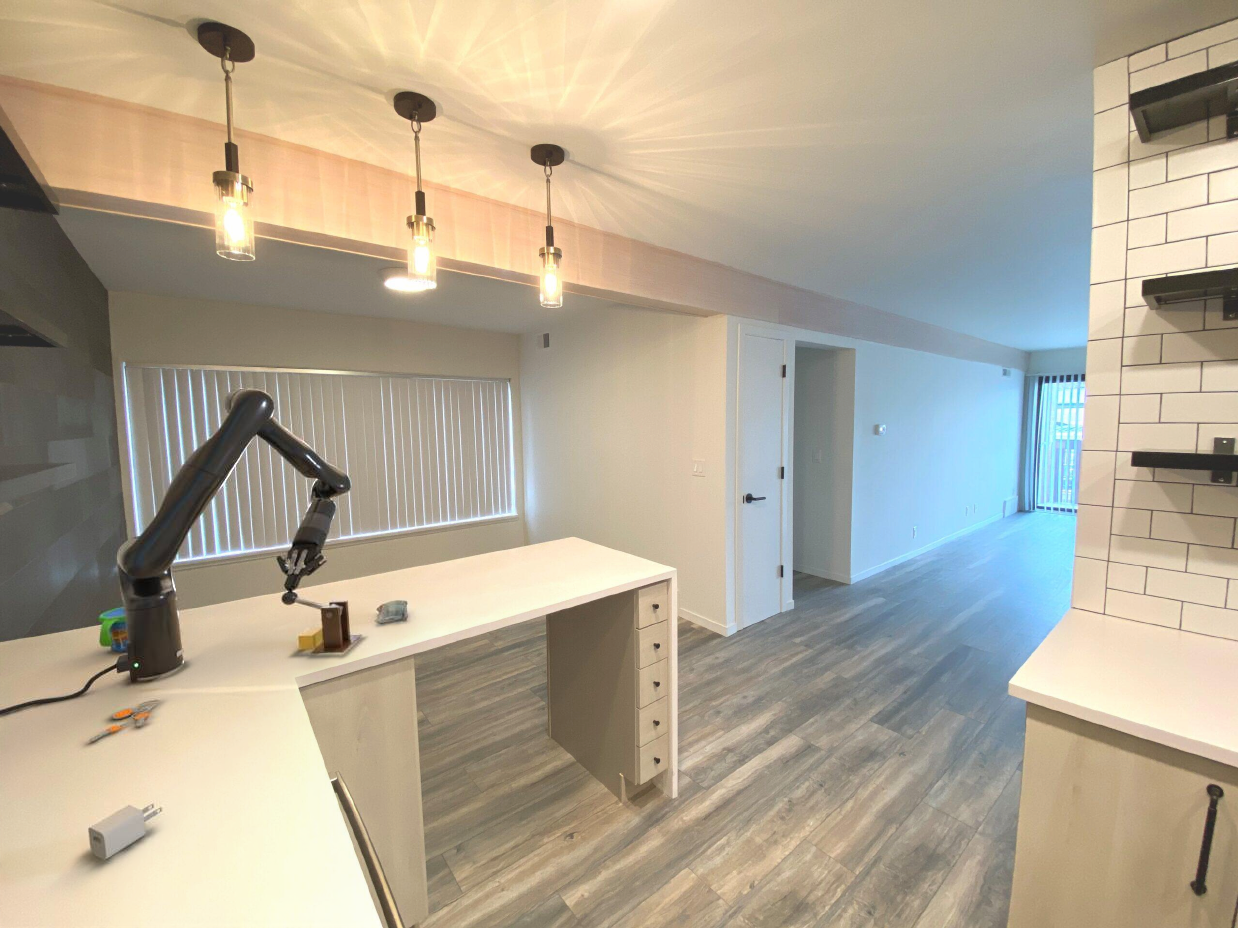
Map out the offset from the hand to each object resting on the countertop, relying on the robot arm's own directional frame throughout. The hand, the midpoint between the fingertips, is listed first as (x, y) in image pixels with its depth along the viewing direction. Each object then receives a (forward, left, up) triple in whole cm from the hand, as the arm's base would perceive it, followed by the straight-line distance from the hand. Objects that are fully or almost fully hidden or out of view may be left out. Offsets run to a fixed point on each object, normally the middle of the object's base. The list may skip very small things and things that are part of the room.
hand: (289, 589), depth 131 cm
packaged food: (+25, +3, -16) cm, 30 cm away
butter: (+4, -3, -16) cm, 17 cm away
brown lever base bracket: (+9, -7, -16) cm, 20 cm away
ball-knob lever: (+4, -3, -6) cm, 8 cm away
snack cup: (-34, +31, -16) cm, 49 cm away
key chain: (-30, -16, -16) cm, 38 cm away
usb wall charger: (-26, -56, -16) cm, 64 cm away
